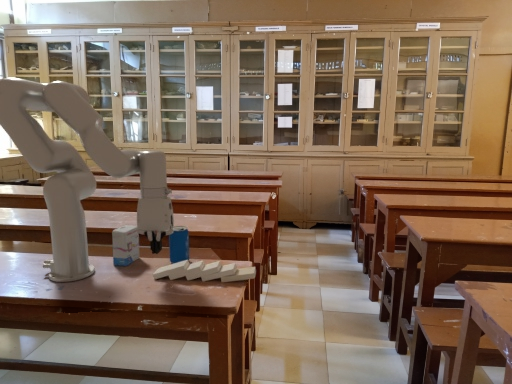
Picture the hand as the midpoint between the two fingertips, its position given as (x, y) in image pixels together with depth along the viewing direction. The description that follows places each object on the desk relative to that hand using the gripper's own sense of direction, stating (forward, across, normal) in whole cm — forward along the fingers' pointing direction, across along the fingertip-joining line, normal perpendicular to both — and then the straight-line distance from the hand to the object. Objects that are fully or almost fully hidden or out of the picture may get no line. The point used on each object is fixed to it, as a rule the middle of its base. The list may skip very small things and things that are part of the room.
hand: (156, 252), depth 105 cm
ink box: (+8, +14, -11) cm, 20 cm away
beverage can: (+8, -4, -12) cm, 15 cm away
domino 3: (+7, -10, 0) cm, 12 cm away
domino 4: (+7, -14, 0) cm, 16 cm away
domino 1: (+7, 0, 0) cm, 7 cm away
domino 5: (+7, -20, 0) cm, 21 cm away
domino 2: (+7, -5, 0) cm, 8 cm away
